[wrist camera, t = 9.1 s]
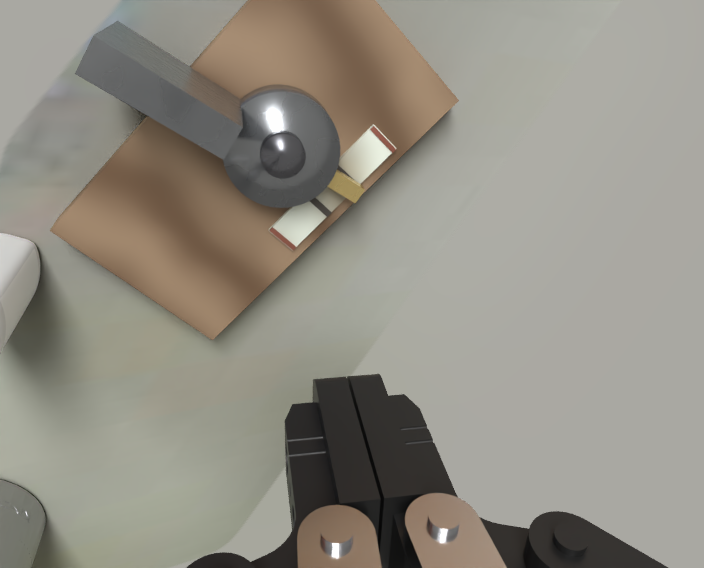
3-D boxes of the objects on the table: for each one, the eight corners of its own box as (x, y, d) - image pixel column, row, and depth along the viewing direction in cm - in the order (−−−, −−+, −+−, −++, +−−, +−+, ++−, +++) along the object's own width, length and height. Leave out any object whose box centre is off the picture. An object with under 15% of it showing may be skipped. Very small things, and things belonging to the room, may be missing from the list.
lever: (327, 231, 37) (343, 277, 32) (82, 92, 31) (52, 120, 26) (387, 146, 35) (414, 180, 30) (138, -22, 29) (118, -16, 24)
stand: (213, 324, 42) (212, 343, 40) (58, 217, 36) (48, 233, 34) (448, 93, 37) (461, 101, 35) (309, -72, 31) (315, -73, 29)
